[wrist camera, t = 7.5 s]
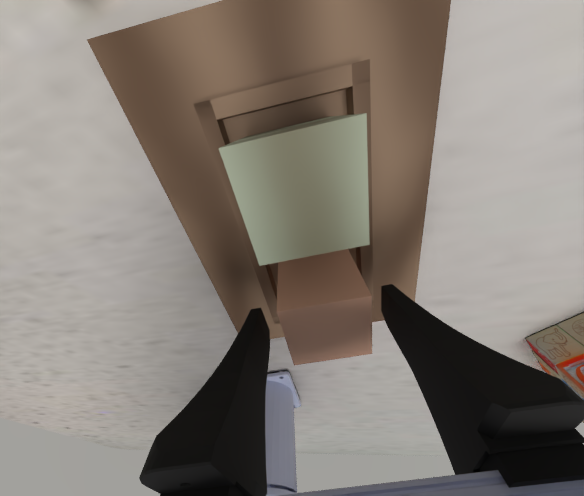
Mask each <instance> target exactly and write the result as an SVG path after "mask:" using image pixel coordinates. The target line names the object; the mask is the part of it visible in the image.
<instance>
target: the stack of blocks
mask: <svg viewBox="0 0 584 496" xmlns="http://www.w3.org/2000/svg"><path fill="white" fill-rule="evenodd" d="M526 340H527V342H528V343H529V345H530V346H531V348H532V351H533V353H534V355H535V356H536V358H537V360H538V361H539V363H540V365H541V367H542V368H543V370H544V371H545V372H546V373H547V374H550V375H552V376H554V377H557V378H559V379H561V380H562V381H563V382H564V383H565V384H566V385H568V386H569V387H570V388H571V389H572V390H573V391H574V392H575V393H576V394H577V395H579V396H580V397H581V398H582V399H583V400H584V313H582V314H580V315H578V316H575V317H573V318H571V319H568V320H566V321H564V322H561V323H559V324H557V325H555V326H552V327H550V328H547V329H545V330H543V331H541V332H538V333H536V334H534V335H532V336H529V337H527V338H526ZM582 422H583V423H584V420H583V421H582Z"/></svg>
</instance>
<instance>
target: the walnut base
mask: <svg viewBox="0 0 584 496" xmlns="http://www.w3.org/2000/svg"><path fill="white" fill-rule="evenodd" d="M450 4H451V0H223V1H219V2H216V3H212V4H209V5H205V6H202V7H198V8H195V9H192V10H188V11H185V12H181V13H178V14H174V15H171V16H167V17H164V18H160V19H157V20H153V21H150V22H146V23H143V24H139V25H136V26H133V27H129V28H126V29H122V30H119V31H115V32H112V33H108V34H105V35H101V36H98V37H94V38H91V39H87V41H88V43H89V45H90V47H91V49H92V51H93V52H94V54H95V56H96V58H97V60H98V62H99V64H100V66H101V68H102V70H103V72H104V74H105V76H106V78H107V80H108V82H109V84H110V85H111V87H112V89H113V91H114V93H115V95H116V97H117V99H118V101H119V103H120V105H121V107H122V109H123V111H124V113H125V115H126V117H127V118H128V120H129V122H130V124H131V126H132V128H133V130H134V132H135V134H136V136H137V138H138V140H139V142H140V144H141V146H142V148H143V150H144V151H145V153H146V155H147V157H148V159H149V161H150V163H151V165H152V167H153V169H154V171H155V173H156V175H157V177H158V179H159V181H160V183H161V185H162V186H163V188H164V190H165V192H166V194H167V196H168V198H169V200H170V202H171V204H172V206H173V208H174V210H175V212H176V214H177V216H178V218H179V219H180V221H181V223H182V225H183V227H184V229H185V231H186V233H187V235H188V237H189V239H190V241H191V243H192V245H193V247H194V249H195V251H196V252H197V254H198V256H199V258H200V260H201V262H202V264H203V266H204V268H205V270H206V272H207V274H208V276H209V278H210V280H211V282H212V284H213V285H214V287H215V289H216V291H217V293H218V295H219V297H220V299H221V301H222V303H223V305H224V307H225V309H226V311H227V313H228V315H229V317H230V318H231V320H232V322H233V324H234V326H235V328H236V330H237V332H238V333H239V332H240V330H241V328H242V326H243V324H244V322H245V320H246V318H247V316H248V314H249V312H250V310H251V309H256V308H261V309H262V312H263V314H264V317H265V319H266V322H267V324H268V327H269V330H270V339H274V338H280V337H285V336H284V333H283V330H282V327H281V324H280V321H279V318H278V314H277V284H278V262H282V261H288V260H293V259H298V258H303V257H308V256H313V255H319V254H324V253H329V252H334V251H339V250H345V249H348V250H349V252H350V254H351V256H352V258H353V260H354V262H355V264H356V266H357V268H358V270H359V272H360V274H361V276H362V278H363V280H364V282H365V283H366V285H367V287H368V289H369V291H370V293H371V295H372V322H376V321H382V320H385V319H384V317H383V314H382V312H381V286H384V285H389V284H393V285H394V286H395V287H397V288H398V289H399V290H400V291H401V292H403V293H404V294H405V295H406V296H408V297H409V298H410V299H412V300H413V301H414V302H415V293H416V285H417V277H418V269H419V260H420V252H421V244H422V235H423V227H424V219H425V211H426V202H427V194H428V186H429V177H430V169H431V161H432V153H433V144H434V136H435V128H436V119H437V111H438V103H439V95H440V86H441V78H442V70H443V62H444V53H445V45H446V37H447V28H448V20H449V12H450Z"/></svg>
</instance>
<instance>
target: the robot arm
mask: <svg viewBox="0 0 584 496" xmlns="http://www.w3.org/2000/svg"><path fill="white" fill-rule="evenodd" d="M381 312H382V314H383V317H384V319H385V321H386V324H387V326H388V328H389V330H390V332H391V333H392V335H393V337H394V339H395V341H396V342H397V344H398V346H399V348H400V349H401V351H402V353H403V355H404V357H405V358H406V360H407V362H408V364H409V366H410V367H411V369H412V371H413V373H414V376H415V378H416V380H417V382H418V384H419V387H420V389H421V391H422V393H423V396H424V398H425V400H426V403H427V405H428V407H429V410H430V412H431V414H432V417H433V419H434V422H435V424H436V426H437V429H438V431H439V434H440V436H441V439H442V441H443V444H444V446H445V449H446V451H447V454H448V456H449V459H450V461H451V464H452V467H453V470H454V472H455V475H451V476H442V477H433V478H425V479H416V480H408V481H399V482H390V483H381V484H373V485H364V486H355V487H347V488H338V489H330V490H321V491H312V492H304V493H297V485H296V484H297V483H296V482H297V481H296V457H295V456H296V455H295V429H294V408H296V407H300V406H301V401H300V399H299V396H298V394H297V391H296V388H295V386H294V383H293V380H292V378H291V375H290V373H289V372H287V371H285V372H278V373H272V374H267V371H268V361H269V351H270V330H269V327H268V324H267V322H266V319H265V317H264V314H263V312H262V309H261V308H256V309H251V310H250V312H249V314H248V316H247V318H246V320H245V322H244V324H243V326H242V328H241V330H240V332H239V333H238V335H237V337H236V339H235V341H234V342H233V344H232V346H231V347H230V349H229V351H228V352H227V354H226V355H225V357H224V359H223V360H222V362H221V363H220V364H219V366H218V367H217V369H216V370H215V372H214V373H213V374H212V376H211V377H210V378H209V379H208V381H207V382H206V383H205V385H204V386H203V387H202V388H201V390H200V391H199V392H198V393H197V394H196V395H195V397H194V398H193V399H192V400H191V401H190V402H189V403H188V404H187V406H186V407H185V408H184V409H183V410H182V411H181V412H180V413H179V414H178V415H177V416H176V417H175V418H174V419H173V420H172V421H171V422H170V423H169V424H168V425H167V426H166V427H165V428H164V429H163V430H162V431H161V432H160V433H159V434H158V435H157V436H156V438H155V440H154V443H153V445H152V447H151V449H150V452H149V455H148V457H147V460H146V463H145V465H144V467H143V470H142V472H141V475H140V481H141V483H142V484H144V485H145V486H147V487H149V488H150V489H152V490H154V491H156V492H158V493H160V496H584V445H583V443H584V437H583V436H582V435H580V433H579V432H578V431H577V430H576V429H575V428H576V427H577V426H578V425H579V424H580V423H581V422H582V421H583V420H584V400H583V399H582V398H581V397H580V396H579V395H577V394H576V393H575V392H574V391H573V390H572V389H571V388H570V387H569V386H568V385H566V384H565V383H564V382H563V381H562V380H561V379H559V378H557V377H554V376H552V375H550V374H547V373H545V372H542V371H540V370H537V369H535V368H532V367H530V366H527V365H525V364H522V363H520V362H518V361H516V360H514V359H511V358H509V357H507V356H505V355H502V354H500V353H498V352H496V351H494V350H492V349H490V348H488V347H486V346H484V345H482V344H480V343H478V342H476V341H474V340H473V339H471V338H469V337H467V336H465V335H464V334H462V333H460V332H458V331H457V330H455V329H453V328H452V327H450V326H448V325H447V324H445V323H444V322H442V321H441V320H439V319H438V318H436V317H435V316H433V315H432V314H430V313H429V312H428V311H426V310H425V309H424V308H422V307H421V306H419V305H418V304H417V303H415V302H414V301H413V300H412V299H410V298H409V297H408V296H406V295H405V294H404V293H403V292H401V291H400V290H399V289H398V288H397V287H395V286H394V285H393V284H389V285H384V286H381Z"/></svg>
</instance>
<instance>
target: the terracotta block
mask: <svg viewBox="0 0 584 496" xmlns="http://www.w3.org/2000/svg"><path fill="white" fill-rule="evenodd" d="M277 314H278V318H279V321H280V324H281V327H282V330H283V333H284V336H285V339H286V342H287V345H288V348H289V351H290V354H291V357H292V360H293V363H294V365H299V364H306V363H312V362H319V361H326V360H333V359H339V358H346V357H353V356H359V355H366V354H372V295H371V293H370V291H369V289H368V287H367V285H366V283H365V282H364V280H363V278H362V276H361V274H360V272H359V270H358V268H357V266H356V264H355V262H354V260H353V258H352V256H351V254H350V252H349V250H348V249H345V250H339V251H334V252H329V253H324V254H319V255H313V256H308V257H303V258H298V259H293V260H288V261H282V262H278V284H277Z"/></svg>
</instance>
